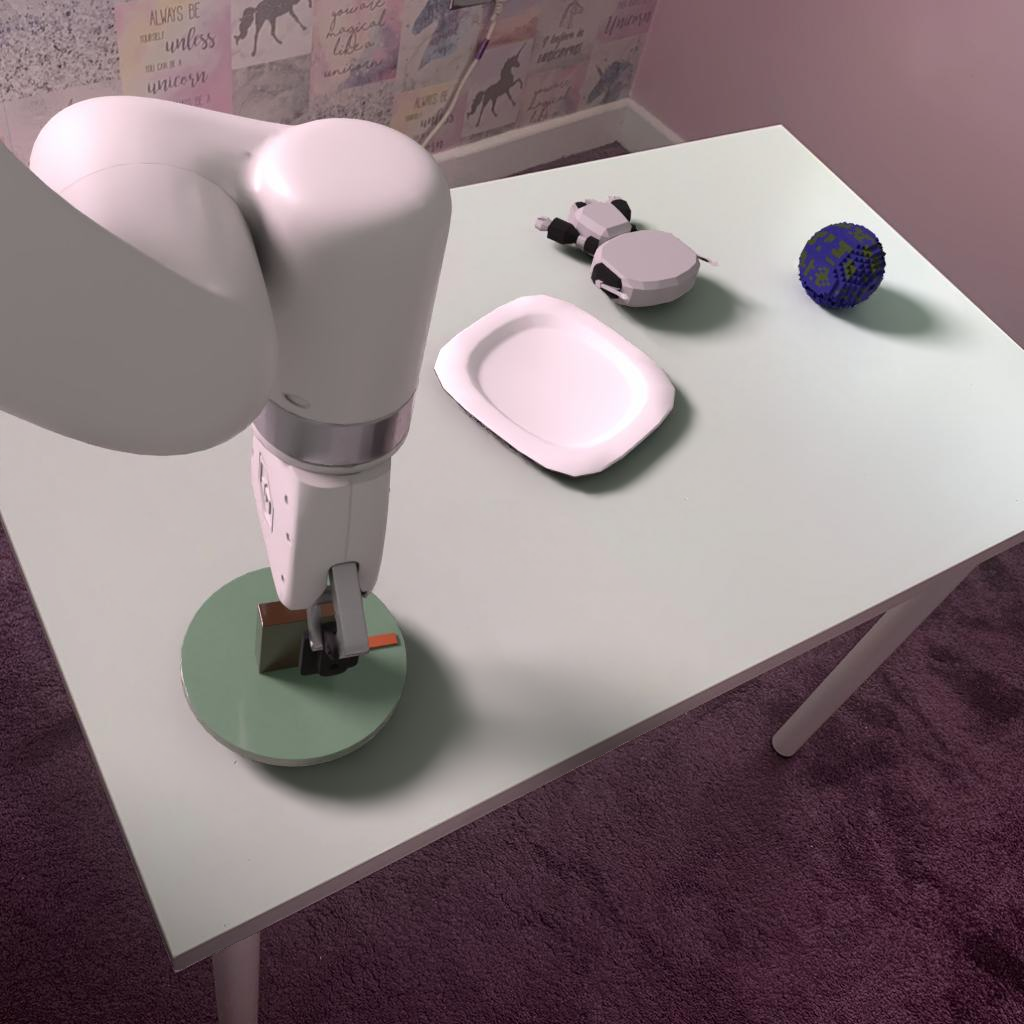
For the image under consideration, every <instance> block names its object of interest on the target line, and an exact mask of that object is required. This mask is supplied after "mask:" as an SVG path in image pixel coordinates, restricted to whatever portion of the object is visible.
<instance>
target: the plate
mask: <svg viewBox="0 0 1024 1024" xmlns="http://www.w3.org/2000/svg"><path fill="white" fill-rule="evenodd" d="M437 355H438V356H437V359H436V361H435V364H434V367H433V371H434V373H435V375H436V377H437V379H438V381H439V384H440V386H441V387H442V389H443V391H444V392H445V394H447V395H448V396H449V397H451V399H452V400H453V401H454V402H455V403H456V404H457V405H458V406H460V407H461V409H462V410H464V412H466V413H467V414H468V415H470V416H471V417H472V418H474V419H475V421H477V422H478V423H480V424H481V425H482V426H484V427H485V428H486V429H487V430H489V431H490V432H491V433H492V434H494V435H495V436H496V437H498V438H499V439H500V440H501V441H503V442H504V443H506V444H507V445H508V446H510V447H511V448H512V449H513V450H515V451H516V452H518V453H520V454H521V455H522V456H524V457H526V458H527V459H528V460H530V461H532V462H533V463H535V464H536V465H538V466H540V467H541V468H543V469H544V470H547V471H549V472H550V471H551V472H554V473H557V474H560V475H564V476H566V477H570V478H580V477H585V476H591V475H597V474H600V473H603V471H605V470H607V469H609V468H610V467H611V466H612V467H613V465H615V464H616V463H619V461H621V460H622V459H624V458H625V457H626V456H627V455H629V454H630V453H631V452H632V451H633V450H634V449H635V448H637V447H638V446H639V445H641V443H642V442H643V441H645V440H646V439H647V438H648V437H649V436H650V435H651V434H652V433H653V432H655V430H657V429H658V428H659V427H660V425H662V423H663V421H664V420H665V419H666V418H667V417H668V415H669V414H670V413H671V412H672V411H673V409H674V404H675V396H676V388H675V387H674V384H672V382H671V380H670V378H669V377H668V374H666V372H665V370H664V369H663V368H661V367H660V366H659V365H658V364H657V363H656V362H655V361H654V360H652V358H650V356H648V355H646V353H644V351H642V350H641V349H640V348H638V347H637V346H636V345H634V344H633V343H631V342H630V341H628V339H626V338H624V337H623V336H622V335H621V334H619V333H618V332H616V331H615V330H614V329H612V328H611V327H609V326H608V325H606V324H605V323H604V322H602V321H601V320H600V319H598V318H597V317H595V316H594V315H592V314H590V313H589V312H587V311H585V310H583V309H581V308H580V307H578V306H576V305H575V304H573V303H571V302H569V301H566V300H564V299H560V298H556V297H553V296H551V295H547V294H535V295H527V296H526V295H525V296H519V297H517V298H516V299H513V300H510V301H509V302H506V303H505V304H502V305H500V306H498V307H496V308H495V309H494V310H492V311H490V312H489V313H487V314H486V315H484V316H482V317H481V318H479V319H478V320H476V321H475V322H473V323H472V324H470V325H468V326H467V327H466V328H464V329H463V330H461V331H460V332H459V333H457V334H456V335H454V337H452V338H451V339H450V340H449V341H448V342H447V343H446V344H445V345H443V347H442V348H440V350H439V353H438V354H437Z"/></svg>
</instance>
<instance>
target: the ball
mask: <svg viewBox="0 0 1024 1024" xmlns="http://www.w3.org/2000/svg"><path fill="white" fill-rule="evenodd" d="M886 255H887V252H885V251H884V246H883V243H882V242H880V239H879V236H877V235H876V233H874V231H872V230H871V229H869V228H868V227H865V225H862V224H861V225H860V224H858V223H856V224H855V223H854V222H848V221H847V222H846V221H843V222H841V221H840V222H838V223H837V222H835V223H833V224H832V223H830V224H829V225H826V226H824V227H822V228H820V230H817V231H815V232H814V234H813V235H812V236H811V237H810V238H809V239H807V241H806V243H805V244H804V247H803V249H802V250H801V252H800V254H799V257H798V265H797V268H798V272H799V273H797V276H798V281H799V282H801V286H802V288H803V289H804V290H805V294H806V295H807V296H808V297H809V298H811V299H812V300H813V301H814V302H815V303H816V304H817V305H819V306H820V305H821V306H824V307H828V308H833V309H838V310H839V309H845V308H846V309H848V308H854V307H856V306H858V305H860V304H862V303H863V302H866V301H867V300H869V298H870V297H871V296H873V294H874V293H875V292H876V291H877V290H878V288H879V287H880V285H881V283H882V281H883V280H884V279H885V277H884V276H885V275H884V274H886V269H885V268H886V266H887V262H886V257H885V256H886Z"/></svg>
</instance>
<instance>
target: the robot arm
mask: <svg viewBox="0 0 1024 1024" xmlns="http://www.w3.org/2000/svg"><path fill="white" fill-rule="evenodd" d="M31 149H32V150H31V153H30V157H29V166H27V165H26V164H25V163H24V162H23V161H22V160H20V159H19V158H18V157H17V155H15V154H14V152H12V151H11V150H10V148H9V147H7V146H6V144H5V143H4V142H3V141H2V140H1V139H0V411H1V412H3V413H6V414H8V415H11V416H13V417H15V418H18V419H20V420H23V421H25V422H27V423H29V424H32V425H35V426H37V427H39V428H42V429H44V430H46V431H50V432H52V433H55V434H58V435H61V436H63V437H66V438H69V439H73V440H76V441H79V442H81V443H85V444H88V445H91V446H94V447H98V448H102V449H106V450H110V451H114V452H121V453H126V454H132V455H139V456H153V457H154V456H155V457H171V456H183V455H190V454H194V453H199V452H204V451H206V450H210V449H212V448H216V447H217V446H219V445H222V444H224V443H226V442H229V441H231V440H232V439H233V438H235V437H236V436H238V435H239V434H241V433H242V432H244V431H245V430H246V429H247V428H248V427H250V429H251V430H252V433H253V436H252V437H253V438H252V445H251V447H252V448H251V460H250V476H251V485H252V490H253V496H254V502H255V506H256V510H257V515H258V519H259V524H260V529H261V533H262V537H263V541H264V545H265V550H266V554H267V558H268V563H269V567H271V571H272V575H273V579H274V583H275V587H276V591H277V594H278V597H279V599H280V601H281V602H282V604H283V605H284V606H286V607H287V608H288V609H290V610H300V609H307V620H308V629H306V630H304V631H303V632H302V639H301V648H300V657H299V669H300V674H301V675H303V676H307V675H313V674H318V673H319V675H320V676H324V677H327V676H333V675H338V674H341V673H343V672H345V671H346V670H347V669H348V668H351V667H354V666H356V665H357V663H358V659H359V655H364V654H367V653H369V640H368V634H367V628H366V621H365V615H364V609H363V598H367V597H368V596H369V595H370V593H371V592H372V593H373V591H374V589H375V587H376V584H377V581H378V578H379V575H380V570H381V566H382V561H383V555H384V550H385V549H384V547H385V541H386V533H387V526H388V525H387V524H388V513H389V503H390V493H391V472H392V471H391V469H392V457H393V456H394V455H396V454H397V453H398V451H399V450H400V449H401V447H402V446H403V445H404V443H405V441H406V439H407V437H408V435H409V431H410V428H411V422H412V417H413V412H414V408H415V402H416V397H417V392H418V387H419V383H420V375H421V371H422V365H423V361H424V355H425V352H426V351H425V350H426V345H427V341H428V336H429V331H430V326H431V321H432V317H433V312H434V306H435V303H436V298H437V293H438V287H439V283H440V277H441V272H442V267H443V264H444V263H443V262H444V257H445V253H446V248H447V243H448V239H449V233H450V227H451V221H452V219H451V218H452V213H453V203H452V202H453V201H452V195H451V189H450V185H449V182H448V179H447V177H446V174H445V173H444V171H443V169H442V167H441V165H440V164H439V163H438V161H437V159H436V158H435V157H434V156H433V155H432V154H431V153H430V152H429V151H428V150H427V149H426V148H425V146H423V145H421V144H420V143H418V142H417V141H415V140H414V139H413V138H411V137H410V136H408V135H407V134H404V133H403V132H401V131H399V130H396V129H395V128H392V127H389V126H387V125H384V124H381V123H378V122H374V121H371V120H370V121H369V120H364V119H358V118H349V117H348V118H347V117H328V118H322V119H315V120H312V121H308V122H304V123H300V124H297V125H292V124H291V125H289V124H285V123H278V122H272V121H267V120H260V119H256V118H250V117H246V116H241V115H237V114H231V113H227V112H222V111H218V110H217V111H216V110H213V109H209V108H204V107H199V106H195V105H190V104H187V103H186V104H185V103H181V102H176V101H171V100H166V99H160V98H155V97H147V96H146V97H145V96H136V95H104V96H98V97H97V96H95V97H92V98H88V99H85V100H81V101H78V102H75V103H72V104H71V105H69V106H66V107H65V108H63V109H62V110H60V111H59V112H57V113H56V114H55V115H54V116H52V117H51V118H50V119H49V120H48V121H47V123H45V125H44V126H43V127H42V128H41V130H40V131H39V133H38V135H37V136H36V139H35V141H34V143H33V145H32V148H31ZM328 575H329V581H330V585H327V578H328ZM362 596H363V598H362ZM331 602H333V606H334V612H335V618H336V621H331V622H325V623H322V621H321V610H320V604H325V603H331Z"/></svg>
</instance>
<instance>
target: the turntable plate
mask: <svg viewBox="0 0 1024 1024" xmlns="http://www.w3.org/2000/svg"><path fill="white" fill-rule="evenodd" d="M327 585H330V581H329V575H328V578H327ZM362 598H363V596H362ZM363 609H364V615H365V621H366V628H367V634H368V640H369V653H367V654H364V655H359V659H358V663H357V665H356V666H354V667H351V668H348V669H347V670H346V671H345V672H343V673H341V674H338V675H333V676H327V677H324V676H320V675H319V673H318V674H313V675H307V676H303V675H301V674H300V669H299V657H300V648H301V639H302V632H303V631H304V630H306V629H308V620H307V609H300V610H290V609H288V608H287V607H286V606H284V605H283V604H282V602H281V601H280V599H279V597H278V594H277V591H276V587H275V583H274V579H273V575H272V571H271V567H270V566H269V567H268V566H267V567H263V568H259V569H256V570H253V571H249V572H247V573H245V574H242V575H239V576H238V577H235V578H234V579H232V580H230V581H229V582H227V583H225V584H223V585H222V586H220V588H218V589H217V590H216V591H215V592H213V593H212V594H211V595H209V597H208V598H207V599H206V600H205V601H204V602H203V603H202V604H201V606H200V607H199V608H198V609H197V611H196V612H195V614H194V615H193V617H192V619H191V621H190V622H189V624H188V626H187V630H186V632H185V634H184V636H183V637H184V638H183V641H182V644H181V645H182V646H181V650H180V662H179V663H180V679H181V686H182V689H183V694H184V697H185V700H186V702H187V704H188V707H189V709H190V710H191V712H192V714H193V716H194V717H195V719H196V720H197V722H198V723H199V724H200V725H201V727H202V728H203V729H204V730H205V731H206V733H207V734H209V735H210V736H211V737H212V738H213V739H214V740H215V741H216V742H218V743H219V744H221V745H222V746H224V747H225V748H226V749H228V750H230V751H232V752H233V753H235V754H238V755H239V756H241V757H243V758H247V759H249V760H252V761H255V762H258V763H263V764H267V765H272V766H279V767H309V766H313V765H320V764H323V763H328V762H331V761H334V760H338V759H339V758H342V757H344V756H346V755H348V754H351V753H352V752H354V751H356V750H357V749H360V748H362V747H363V746H364V745H365V744H367V743H368V742H369V741H370V740H372V739H373V738H374V737H375V736H376V735H377V734H378V733H379V732H380V731H381V730H382V729H383V728H384V727H385V725H386V724H387V723H388V721H389V720H390V719H391V717H392V716H393V714H394V712H395V710H396V709H397V706H398V705H399V701H400V698H401V697H402V696H401V695H402V694H403V690H404V686H405V682H406V676H407V666H408V659H407V658H408V657H407V648H406V644H405V640H404V637H403V636H404V635H403V634H402V631H401V628H400V625H399V624H398V622H397V621H396V619H395V616H393V614H392V613H391V611H390V609H389V608H388V606H387V605H386V604H385V603H384V602H383V600H381V598H379V597H378V596H377V595H376V594H375V593H374V592H373V591H372V592H371V593H370V595H369V596H368V597H367V598H363ZM320 610H321V621H322V623H325V622H331V621H336V618H335V612H334V606H333V602H331V603H325V604H320Z"/></svg>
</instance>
